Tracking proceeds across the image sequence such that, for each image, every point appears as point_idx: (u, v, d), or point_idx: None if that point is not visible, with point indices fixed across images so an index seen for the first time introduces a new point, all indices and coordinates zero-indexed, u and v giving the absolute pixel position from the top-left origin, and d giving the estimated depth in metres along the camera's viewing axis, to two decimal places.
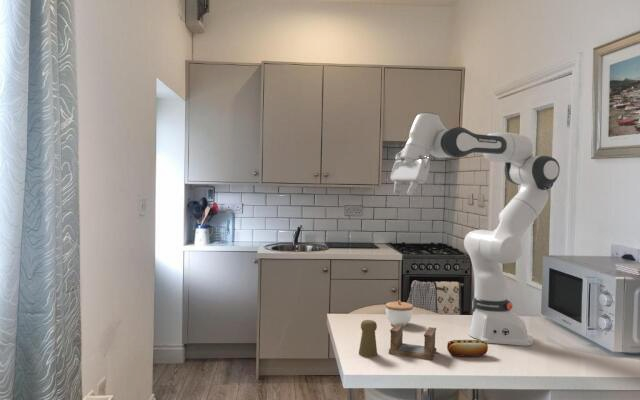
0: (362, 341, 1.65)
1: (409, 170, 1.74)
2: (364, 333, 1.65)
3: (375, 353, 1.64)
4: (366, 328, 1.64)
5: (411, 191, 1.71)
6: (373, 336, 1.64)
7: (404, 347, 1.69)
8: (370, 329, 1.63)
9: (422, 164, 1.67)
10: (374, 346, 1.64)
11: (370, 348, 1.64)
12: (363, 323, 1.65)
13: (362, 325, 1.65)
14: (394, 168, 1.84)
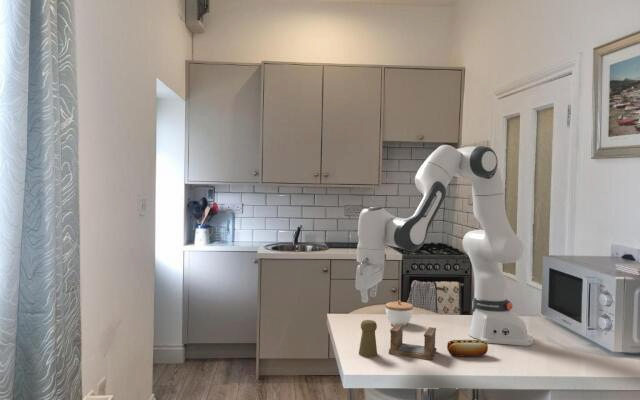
0: (362, 341, 1.65)
1: None
2: (364, 333, 1.65)
3: (375, 353, 1.64)
4: (366, 328, 1.64)
5: (364, 298, 1.60)
6: (373, 336, 1.64)
7: (404, 347, 1.69)
8: (370, 329, 1.63)
9: (357, 272, 1.57)
10: (374, 346, 1.64)
11: (370, 348, 1.64)
12: (363, 323, 1.65)
13: (362, 325, 1.65)
14: None
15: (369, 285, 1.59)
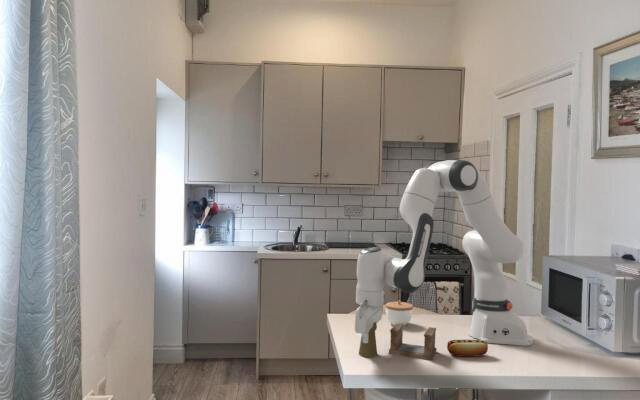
0: (362, 341, 1.65)
1: None
2: None
3: (375, 353, 1.64)
4: None
5: (365, 339, 1.63)
6: (373, 336, 1.64)
7: (404, 347, 1.69)
8: (370, 329, 1.63)
9: (356, 315, 1.57)
10: (374, 346, 1.64)
11: (370, 348, 1.64)
12: None
13: None
14: None
15: (368, 327, 1.59)
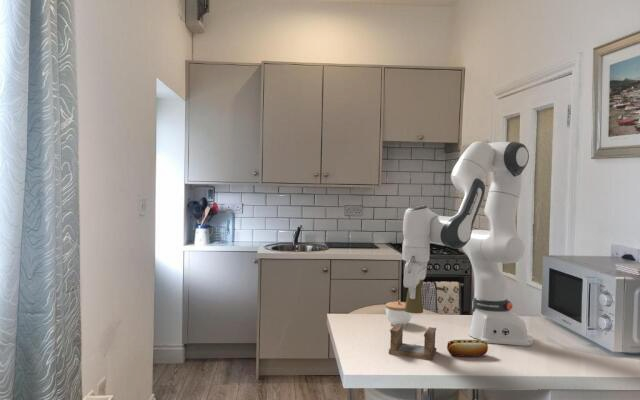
0: (408, 298, 1.67)
1: None
2: None
3: (421, 310, 1.66)
4: None
5: (413, 295, 1.65)
6: (419, 293, 1.67)
7: (404, 347, 1.69)
8: (416, 286, 1.66)
9: (405, 270, 1.60)
10: (420, 303, 1.66)
11: (417, 304, 1.66)
12: None
13: None
14: None
15: (416, 282, 1.61)
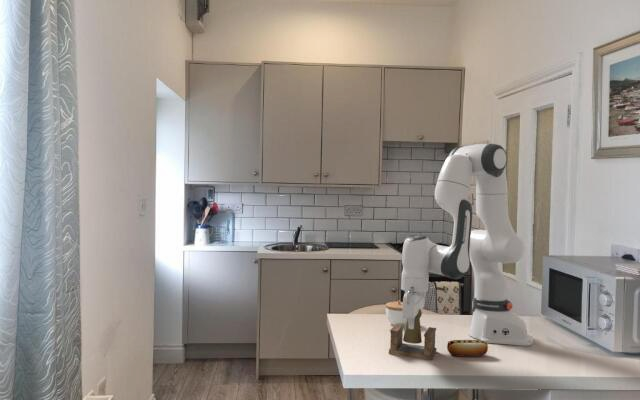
0: (407, 327, 1.67)
1: None
2: None
3: (420, 340, 1.67)
4: None
5: (411, 325, 1.65)
6: (418, 323, 1.67)
7: (404, 347, 1.69)
8: (415, 316, 1.66)
9: (404, 301, 1.60)
10: (419, 333, 1.67)
11: (415, 334, 1.66)
12: None
13: None
14: None
15: (415, 313, 1.62)
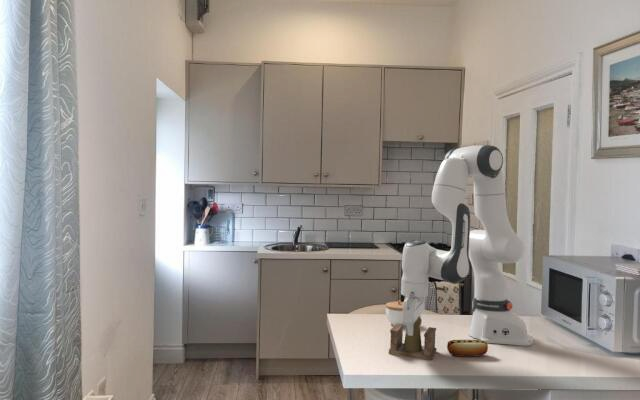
0: (407, 336, 1.67)
1: None
2: None
3: (420, 348, 1.66)
4: None
5: (410, 331, 1.64)
6: (418, 331, 1.66)
7: None
8: (415, 324, 1.66)
9: (404, 306, 1.60)
10: (419, 341, 1.66)
11: (415, 342, 1.66)
12: None
13: None
14: None
15: (415, 318, 1.62)
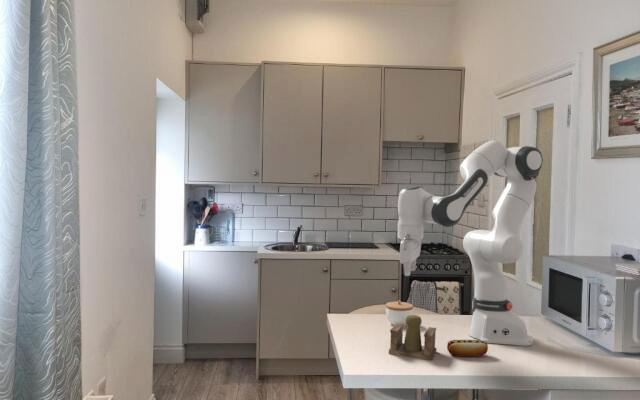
0: (407, 336, 1.67)
1: None
2: (409, 328, 1.67)
3: (420, 348, 1.66)
4: (411, 323, 1.66)
5: (407, 272, 1.72)
6: (418, 331, 1.67)
7: None
8: (415, 324, 1.66)
9: (401, 247, 1.68)
10: (419, 341, 1.66)
11: (415, 342, 1.66)
12: (408, 318, 1.67)
13: (407, 320, 1.67)
14: None
15: (412, 259, 1.70)
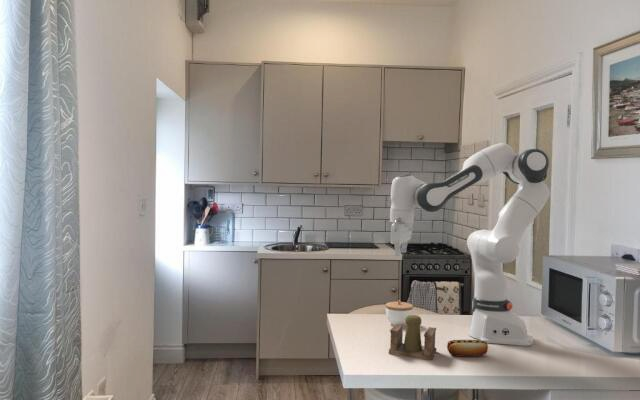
0: (406, 336, 1.67)
1: None
2: (409, 328, 1.67)
3: (420, 348, 1.66)
4: (411, 323, 1.66)
5: (398, 252, 1.88)
6: (418, 331, 1.66)
7: None
8: (415, 324, 1.65)
9: (392, 229, 1.84)
10: (419, 341, 1.66)
11: (415, 342, 1.66)
12: (408, 318, 1.67)
13: (407, 320, 1.67)
14: None
15: (402, 240, 1.86)
